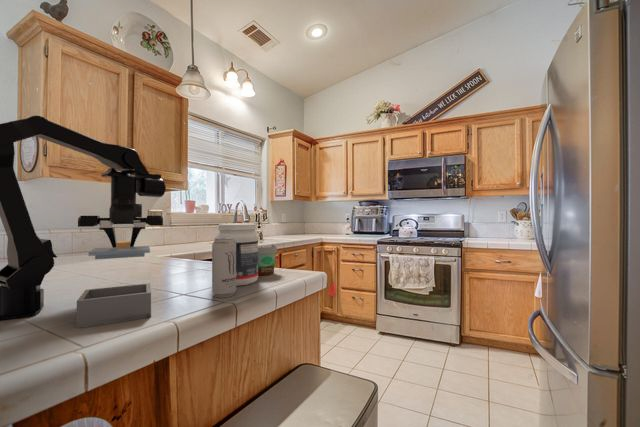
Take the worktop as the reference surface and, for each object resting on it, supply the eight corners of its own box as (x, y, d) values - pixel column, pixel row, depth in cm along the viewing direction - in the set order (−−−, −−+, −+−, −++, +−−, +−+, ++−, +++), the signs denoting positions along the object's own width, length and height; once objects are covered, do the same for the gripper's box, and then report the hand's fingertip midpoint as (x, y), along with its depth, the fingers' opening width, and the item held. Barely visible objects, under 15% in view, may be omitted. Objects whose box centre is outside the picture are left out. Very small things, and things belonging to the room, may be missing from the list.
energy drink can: (226, 298, 75) (226, 239, 75) (206, 296, 77) (207, 238, 77) (240, 293, 81) (240, 237, 81) (222, 291, 83) (222, 236, 83)
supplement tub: (206, 283, 92) (206, 223, 92) (239, 276, 102) (239, 223, 103) (234, 289, 85) (234, 224, 85) (266, 281, 95) (266, 223, 95)
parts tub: (76, 328, 55) (76, 301, 55) (85, 313, 64) (85, 289, 64) (151, 317, 61) (151, 292, 62) (150, 304, 70) (150, 283, 70)
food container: (258, 278, 99) (258, 248, 99) (246, 276, 103) (246, 247, 103) (284, 273, 109) (284, 245, 109) (272, 271, 112) (272, 244, 112)
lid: (88, 260, 67) (88, 247, 67) (96, 253, 79) (96, 242, 79) (149, 256, 73) (149, 244, 73) (148, 251, 85) (148, 240, 85)
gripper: (73, 191, 69) (73, 259, 69) (164, 194, 79) (164, 254, 79) (82, 194, 79) (81, 253, 79) (161, 197, 88) (161, 249, 88)
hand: (123, 252), depth 81 cm, fingers closed on lid, 3 cm apart
